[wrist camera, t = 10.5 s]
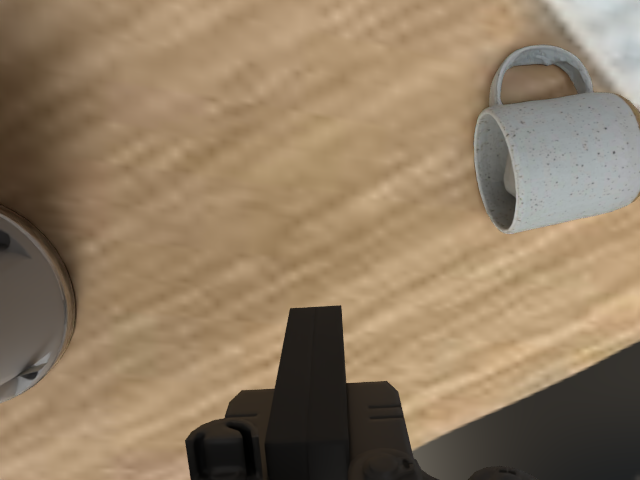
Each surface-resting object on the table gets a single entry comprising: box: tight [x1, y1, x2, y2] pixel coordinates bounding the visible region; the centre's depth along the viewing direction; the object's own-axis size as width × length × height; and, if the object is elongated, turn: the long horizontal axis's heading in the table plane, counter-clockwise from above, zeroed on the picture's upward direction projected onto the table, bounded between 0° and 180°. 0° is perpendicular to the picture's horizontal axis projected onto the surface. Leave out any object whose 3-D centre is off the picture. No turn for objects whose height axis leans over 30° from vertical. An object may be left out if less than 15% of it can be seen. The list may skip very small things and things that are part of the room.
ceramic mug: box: [474, 45, 640, 234], centre depth 33 cm, size 11×8×8 cm
